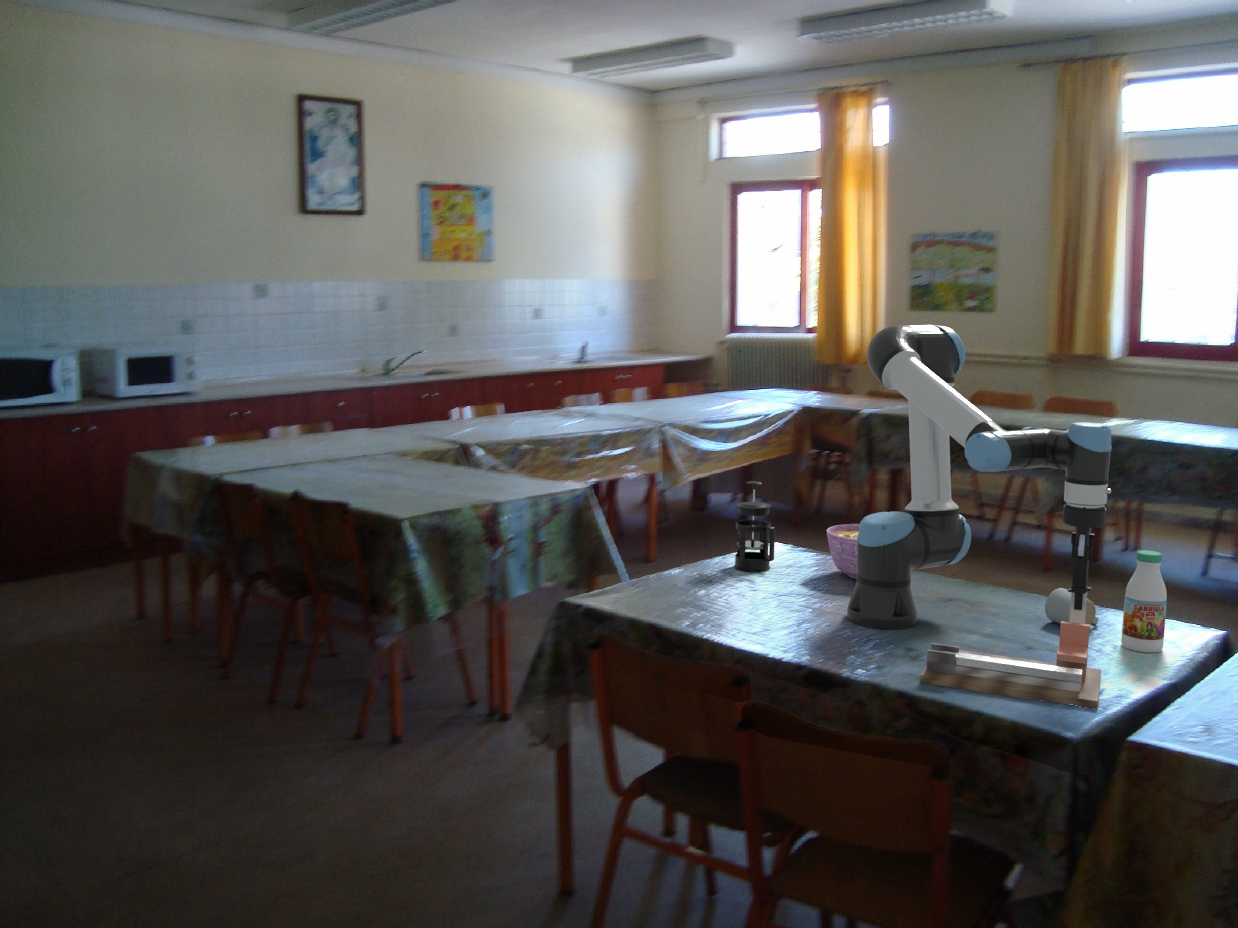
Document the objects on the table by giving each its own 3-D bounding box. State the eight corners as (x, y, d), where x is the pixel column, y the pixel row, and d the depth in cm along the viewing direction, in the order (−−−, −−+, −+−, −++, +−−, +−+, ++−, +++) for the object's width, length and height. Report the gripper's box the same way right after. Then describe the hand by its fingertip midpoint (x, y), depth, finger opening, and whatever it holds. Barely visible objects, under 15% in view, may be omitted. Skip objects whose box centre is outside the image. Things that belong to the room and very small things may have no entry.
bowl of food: (903, 569, 285) (905, 526, 283) (906, 588, 266) (908, 542, 264) (826, 564, 289) (827, 522, 288) (823, 583, 270) (824, 538, 268)
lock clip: (1056, 659, 199) (1058, 632, 198) (1059, 647, 206) (1061, 621, 205) (1086, 664, 196) (1088, 636, 196) (1087, 651, 204) (1089, 624, 203)
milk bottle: (1113, 642, 225) (1120, 548, 222) (1148, 641, 226) (1156, 547, 223) (1134, 654, 218) (1141, 557, 215) (1170, 653, 218) (1179, 556, 215)
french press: (724, 567, 286) (726, 481, 282) (746, 561, 292) (749, 477, 289) (760, 575, 277) (763, 486, 274) (782, 569, 284) (785, 482, 281)
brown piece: (920, 682, 201) (922, 653, 200) (937, 654, 217) (938, 627, 216) (1097, 709, 188) (1099, 679, 187) (1100, 677, 204) (1102, 649, 203)
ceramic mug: (1072, 633, 231) (1075, 598, 230) (1042, 623, 238) (1045, 589, 237) (1107, 628, 236) (1110, 593, 235) (1077, 618, 243) (1080, 584, 242)
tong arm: (941, 662, 202) (941, 654, 202) (944, 657, 205) (944, 650, 205) (1080, 682, 192) (1081, 674, 192) (1081, 677, 195) (1082, 669, 195)
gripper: (1105, 511, 199) (1097, 636, 202) (1107, 500, 210) (1099, 618, 214) (1061, 508, 202) (1053, 631, 205) (1065, 497, 213) (1058, 613, 217)
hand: (1077, 624), depth 209 cm, fingers closed
